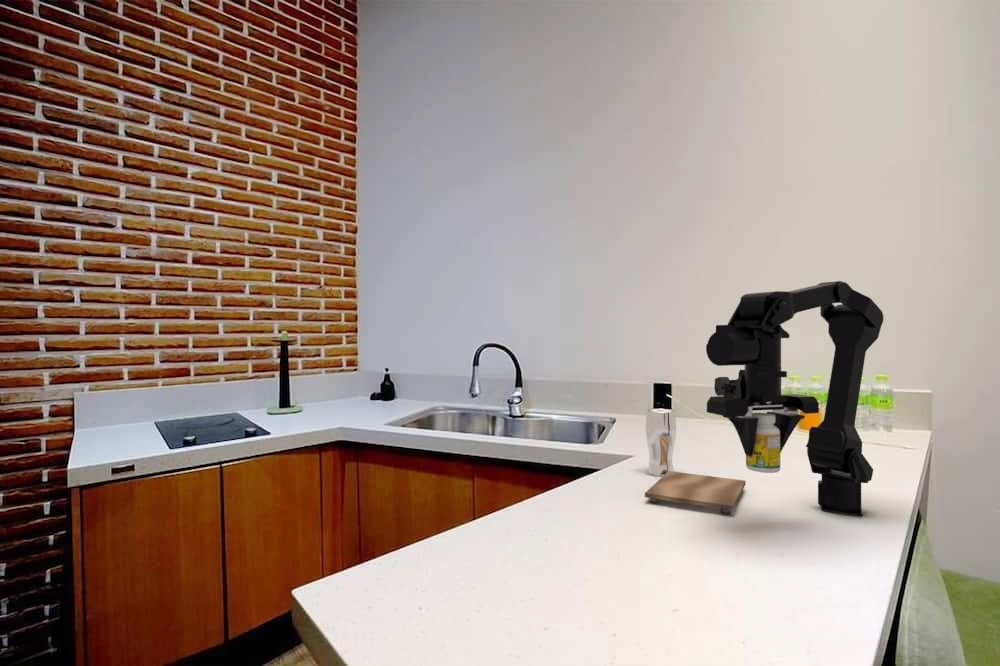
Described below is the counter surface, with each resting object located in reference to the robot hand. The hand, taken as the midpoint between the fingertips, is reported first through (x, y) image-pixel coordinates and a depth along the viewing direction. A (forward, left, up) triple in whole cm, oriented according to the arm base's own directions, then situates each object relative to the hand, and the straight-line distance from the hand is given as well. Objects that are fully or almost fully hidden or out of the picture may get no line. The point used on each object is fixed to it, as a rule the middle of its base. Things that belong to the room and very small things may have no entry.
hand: (762, 454), depth 93 cm
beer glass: (+24, -27, -12) cm, 38 cm away
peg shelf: (+13, -12, -12) cm, 22 cm away
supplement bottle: (0, 0, -3) cm, 3 cm away
